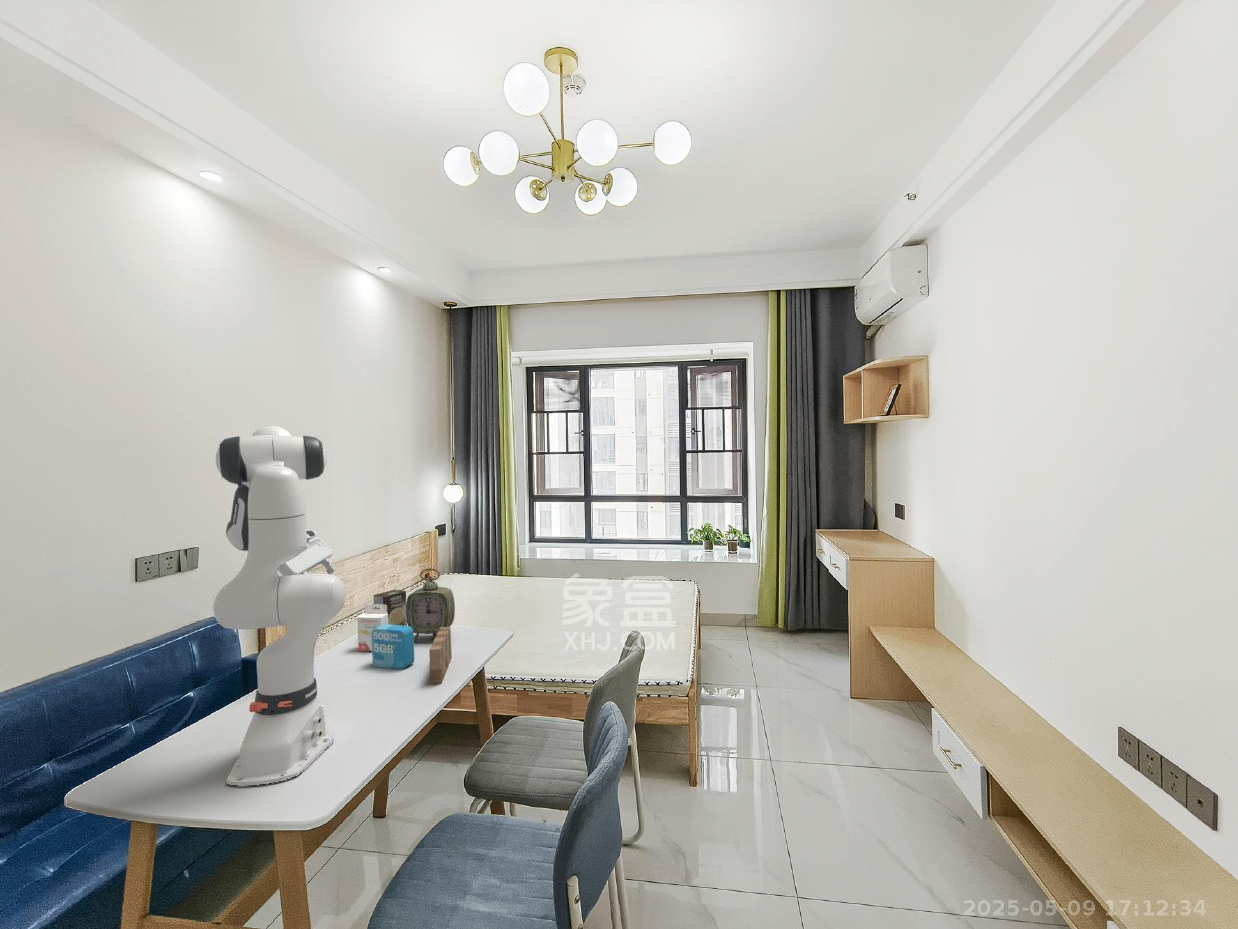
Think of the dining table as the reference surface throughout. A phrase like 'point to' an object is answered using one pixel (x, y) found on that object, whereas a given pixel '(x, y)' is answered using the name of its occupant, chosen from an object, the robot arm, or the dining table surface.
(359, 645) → the ink cartridge box
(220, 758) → the dining table surface
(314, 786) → the dining table surface
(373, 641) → the data package
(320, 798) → the dining table surface
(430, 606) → the tabletop clock
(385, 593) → the coffee box
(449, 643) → the walnut board
